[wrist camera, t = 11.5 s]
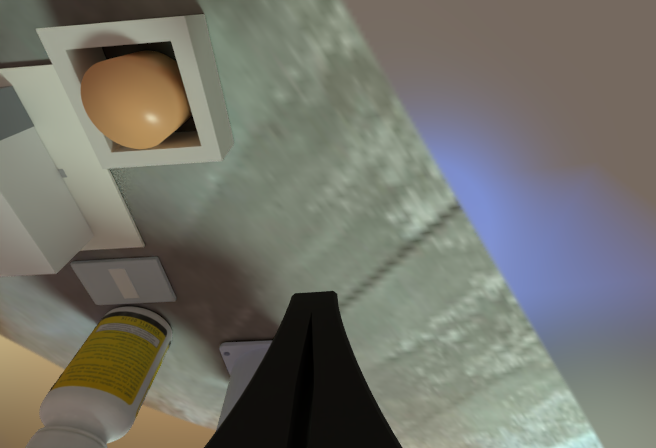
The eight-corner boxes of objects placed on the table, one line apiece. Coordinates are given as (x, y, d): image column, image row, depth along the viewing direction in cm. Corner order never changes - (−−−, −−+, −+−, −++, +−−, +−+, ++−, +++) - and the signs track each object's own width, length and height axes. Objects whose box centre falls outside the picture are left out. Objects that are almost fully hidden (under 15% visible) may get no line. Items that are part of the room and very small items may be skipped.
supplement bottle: (94, 301, 25) (-18, 444, 17) (167, 305, 25) (91, 448, 17) (114, 346, 28) (27, 487, 20) (180, 349, 28) (119, 490, 20)
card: (176, 298, 25) (174, 302, 25) (98, 302, 25) (95, 305, 25) (157, 256, 23) (155, 259, 22) (72, 261, 23) (68, 264, 23)
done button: (204, 125, 17) (183, 146, 15) (136, 130, 18) (104, 151, 15) (182, 47, 15) (154, 56, 13) (106, 53, 16) (63, 63, 13)
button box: (234, 142, 18) (222, 160, 16) (127, 150, 19) (102, 169, 17) (204, 14, 15) (184, 15, 13) (75, 25, 15) (35, 28, 13)
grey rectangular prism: (95, 235, 22) (56, 275, 18) (39, 239, 22) (-9, 278, 19) (12, 85, 17) (-61, 105, 13) (-60, 91, 17) (-148, 111, 14)
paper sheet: (145, 245, 22) (143, 247, 22) (15, 252, 23) (12, 254, 22) (60, 63, 16) (57, 64, 16) (-116, 77, 17) (-121, 79, 16)
